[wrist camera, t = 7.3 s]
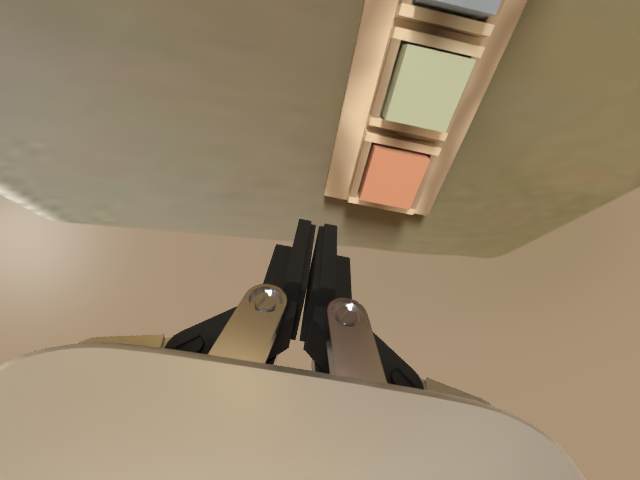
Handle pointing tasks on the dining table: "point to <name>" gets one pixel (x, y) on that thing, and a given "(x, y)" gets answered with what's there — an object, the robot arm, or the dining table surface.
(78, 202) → the dining table surface
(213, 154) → the dining table surface
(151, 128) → the dining table surface
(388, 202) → the terracotta button
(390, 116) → the sage button
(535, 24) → the dining table surface
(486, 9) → the slate button
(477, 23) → the button panel
